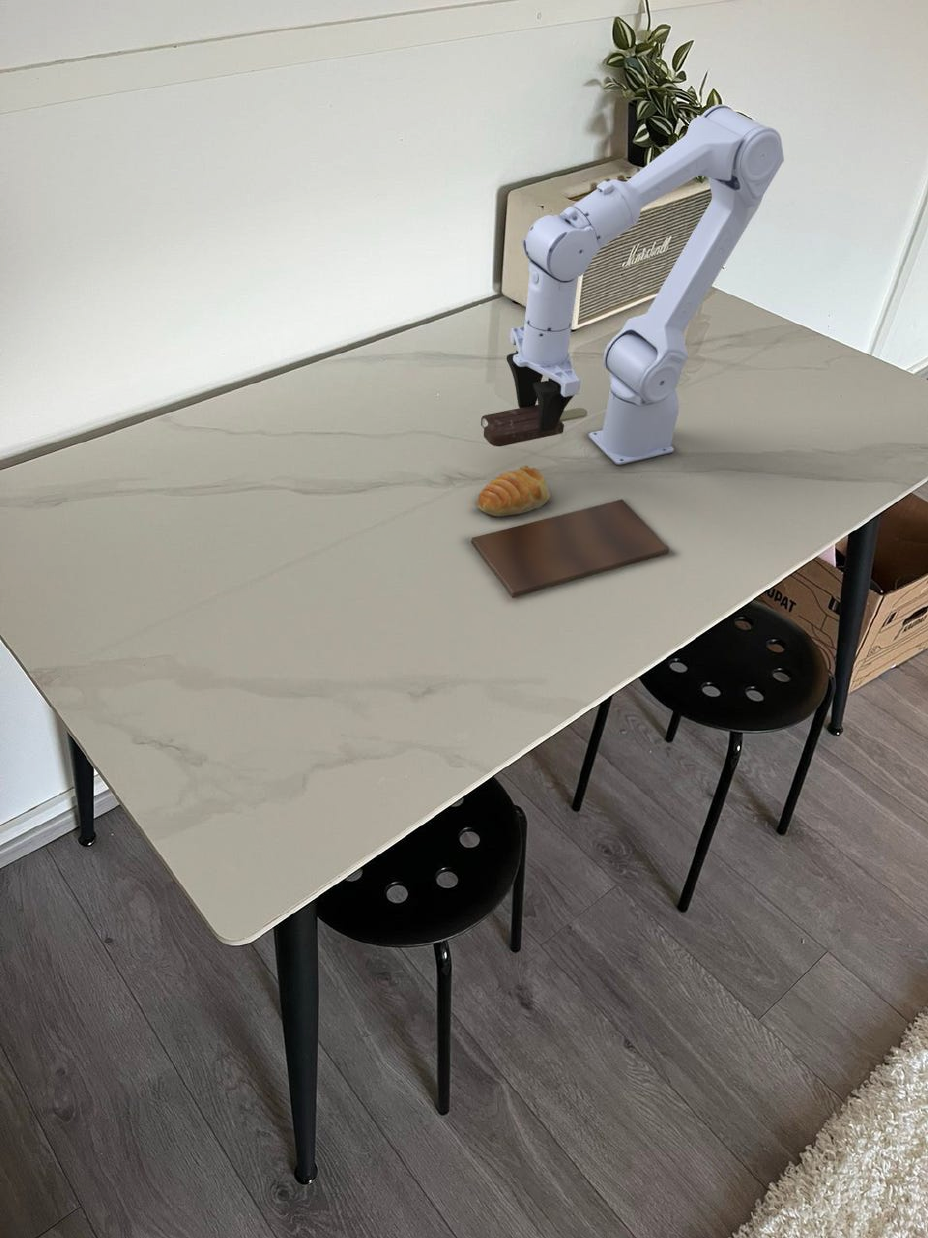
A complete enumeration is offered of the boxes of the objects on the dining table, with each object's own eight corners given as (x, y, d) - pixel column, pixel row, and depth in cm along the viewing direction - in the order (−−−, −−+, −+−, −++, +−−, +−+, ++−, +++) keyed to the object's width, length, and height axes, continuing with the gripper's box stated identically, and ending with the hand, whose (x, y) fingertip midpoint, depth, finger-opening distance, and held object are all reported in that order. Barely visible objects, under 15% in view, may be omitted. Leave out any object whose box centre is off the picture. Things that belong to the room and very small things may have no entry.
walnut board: (621, 503, 135) (622, 498, 135) (668, 553, 128) (669, 548, 128) (470, 542, 128) (471, 537, 127) (512, 597, 121) (512, 592, 120)
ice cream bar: (575, 407, 139) (475, 427, 134) (577, 396, 138) (475, 416, 133) (595, 427, 136) (492, 448, 131) (596, 416, 135) (493, 437, 130)
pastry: (498, 528, 130) (500, 503, 127) (464, 502, 134) (466, 477, 131) (553, 503, 135) (556, 479, 132) (519, 479, 138) (522, 454, 136)
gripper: (492, 299, 128) (484, 395, 137) (548, 353, 119) (535, 453, 128) (542, 291, 131) (531, 386, 140) (600, 344, 121) (584, 442, 130)
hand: (536, 417), depth 134 cm, fingers closed on ice cream bar, 5 cm apart
